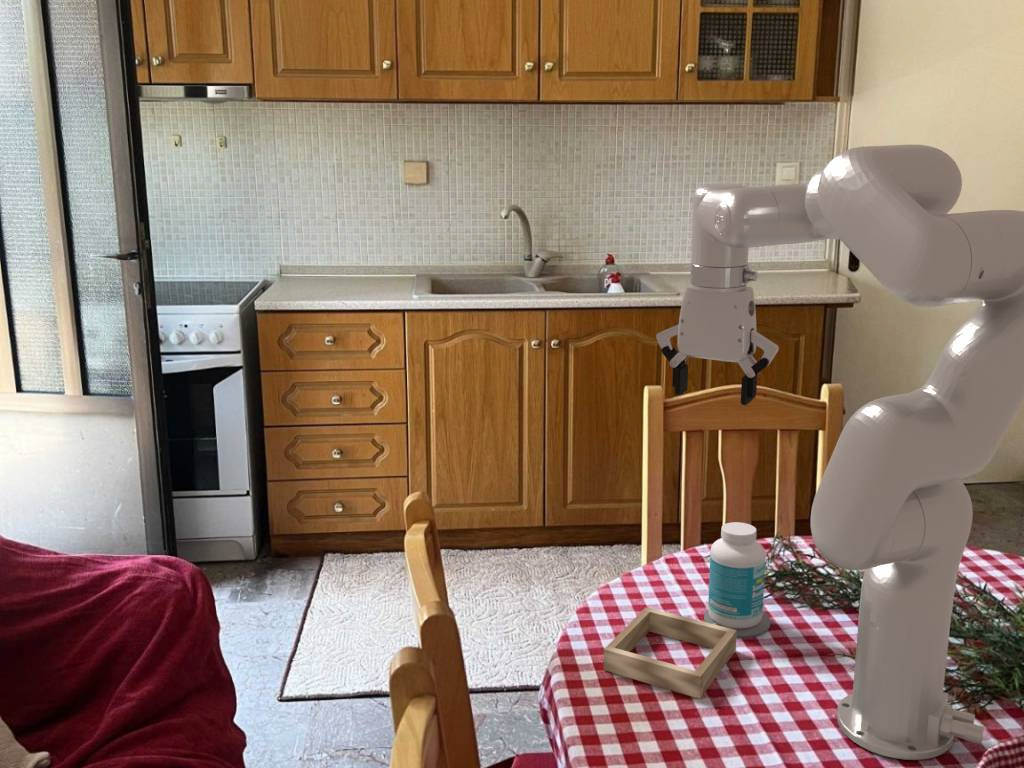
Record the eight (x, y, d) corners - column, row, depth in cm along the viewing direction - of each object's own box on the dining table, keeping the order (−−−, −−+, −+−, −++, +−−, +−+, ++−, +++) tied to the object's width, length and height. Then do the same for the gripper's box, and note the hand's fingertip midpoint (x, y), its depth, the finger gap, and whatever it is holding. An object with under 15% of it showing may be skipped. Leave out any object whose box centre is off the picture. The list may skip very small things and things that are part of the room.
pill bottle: (762, 634, 135) (767, 541, 132) (706, 628, 137) (709, 537, 133) (762, 608, 142) (766, 519, 139) (709, 603, 144) (712, 516, 140)
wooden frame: (735, 650, 132) (736, 630, 131) (699, 698, 122) (700, 676, 121) (645, 626, 139) (646, 607, 138) (603, 670, 128) (603, 649, 127)
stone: (778, 616, 141) (778, 612, 141) (757, 644, 134) (758, 640, 134) (717, 601, 146) (717, 597, 146) (694, 627, 138) (694, 623, 138)
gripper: (790, 277, 134) (782, 399, 139) (669, 268, 143) (666, 383, 147) (772, 286, 128) (765, 414, 133) (648, 276, 137) (645, 396, 141)
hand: (713, 397), depth 140 cm, fingers open, 9 cm apart
